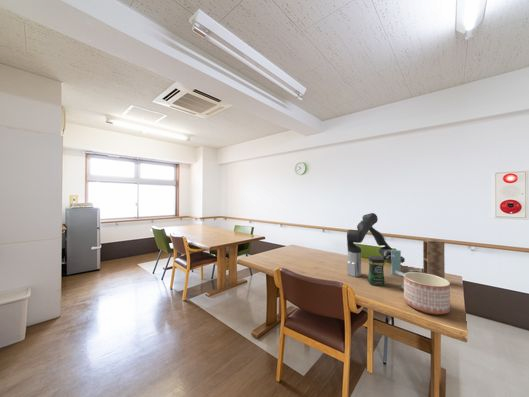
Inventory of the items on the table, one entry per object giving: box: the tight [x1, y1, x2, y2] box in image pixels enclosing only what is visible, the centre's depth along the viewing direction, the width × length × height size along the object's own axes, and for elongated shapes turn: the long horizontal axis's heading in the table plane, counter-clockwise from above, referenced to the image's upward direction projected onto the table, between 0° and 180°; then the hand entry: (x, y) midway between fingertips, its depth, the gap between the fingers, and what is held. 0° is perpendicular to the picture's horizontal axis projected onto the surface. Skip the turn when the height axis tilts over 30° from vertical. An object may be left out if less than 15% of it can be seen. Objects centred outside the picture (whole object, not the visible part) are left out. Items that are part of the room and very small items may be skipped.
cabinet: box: [401, 238, 446, 279], centre depth 148 cm, size 21×18×28 cm
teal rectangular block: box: [390, 249, 402, 276], centre depth 156 cm, size 6×4×18 cm, turn 72°
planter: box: [403, 271, 451, 316], centre depth 111 cm, size 19×19×15 cm
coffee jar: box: [367, 255, 386, 287], centre depth 140 cm, size 10×8×19 cm
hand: (395, 261), depth 157 cm, fingers open, 8 cm apart
